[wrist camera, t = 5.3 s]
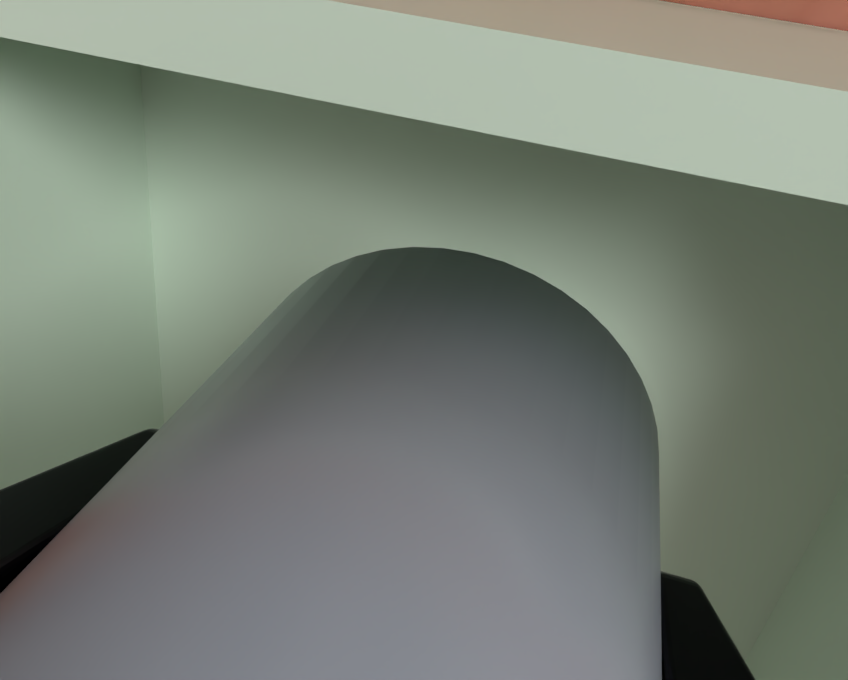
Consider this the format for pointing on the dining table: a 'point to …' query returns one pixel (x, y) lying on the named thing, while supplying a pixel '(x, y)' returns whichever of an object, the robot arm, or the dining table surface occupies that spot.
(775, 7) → the dining table surface
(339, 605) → the grey canister
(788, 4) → the dining table surface
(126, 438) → the robot arm
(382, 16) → the tote
